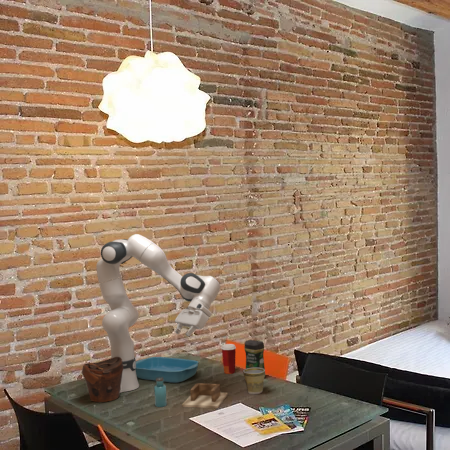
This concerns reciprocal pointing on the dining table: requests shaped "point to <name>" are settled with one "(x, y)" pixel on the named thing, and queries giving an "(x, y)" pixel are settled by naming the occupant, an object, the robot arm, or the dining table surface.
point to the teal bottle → (160, 393)
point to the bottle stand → (205, 396)
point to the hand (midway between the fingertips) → (181, 334)
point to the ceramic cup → (254, 379)
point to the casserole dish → (166, 369)
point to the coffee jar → (254, 354)
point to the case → (103, 379)
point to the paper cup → (228, 358)
